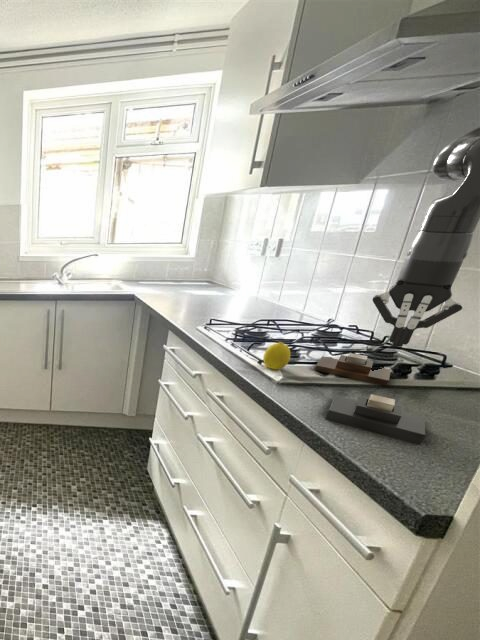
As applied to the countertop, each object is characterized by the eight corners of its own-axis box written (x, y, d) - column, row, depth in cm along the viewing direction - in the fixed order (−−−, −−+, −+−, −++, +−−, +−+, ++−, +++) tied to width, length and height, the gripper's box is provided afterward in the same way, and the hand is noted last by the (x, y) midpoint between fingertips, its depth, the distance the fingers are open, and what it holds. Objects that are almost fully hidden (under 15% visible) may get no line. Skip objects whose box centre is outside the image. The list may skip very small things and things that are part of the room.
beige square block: (365, 362, 107) (367, 356, 106) (363, 366, 104) (366, 359, 104) (346, 359, 109) (349, 352, 108) (345, 362, 107) (347, 356, 106)
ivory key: (391, 407, 83) (395, 399, 83) (390, 413, 81) (394, 405, 80) (367, 401, 86) (371, 394, 85) (366, 407, 83) (369, 399, 83)
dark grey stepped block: (420, 426, 84) (429, 408, 82) (420, 445, 77) (429, 426, 75) (331, 404, 93) (338, 387, 91) (325, 419, 86) (331, 402, 84)
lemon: (264, 373, 109) (273, 344, 106) (256, 366, 114) (265, 338, 111) (288, 375, 108) (298, 346, 104) (279, 368, 113) (288, 339, 109)
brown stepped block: (387, 377, 107) (393, 363, 105) (385, 388, 100) (392, 373, 99) (319, 363, 116) (324, 350, 114) (313, 373, 109) (318, 358, 108)
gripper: (485, 258, 76) (442, 348, 83) (386, 253, 84) (355, 335, 91) (491, 262, 71) (444, 357, 78) (385, 256, 79) (352, 342, 86)
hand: (396, 345), depth 85 cm, fingers closed
